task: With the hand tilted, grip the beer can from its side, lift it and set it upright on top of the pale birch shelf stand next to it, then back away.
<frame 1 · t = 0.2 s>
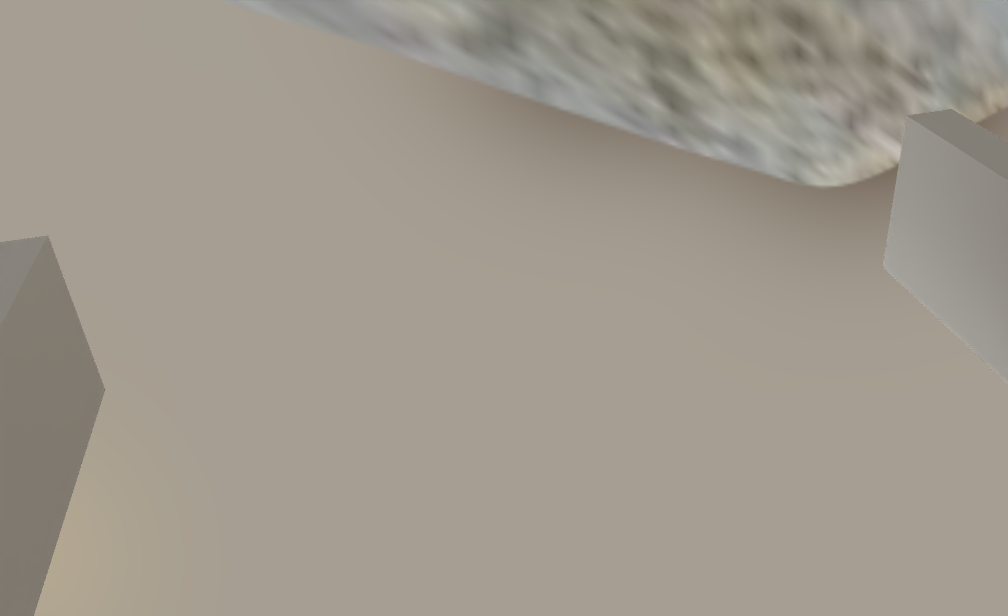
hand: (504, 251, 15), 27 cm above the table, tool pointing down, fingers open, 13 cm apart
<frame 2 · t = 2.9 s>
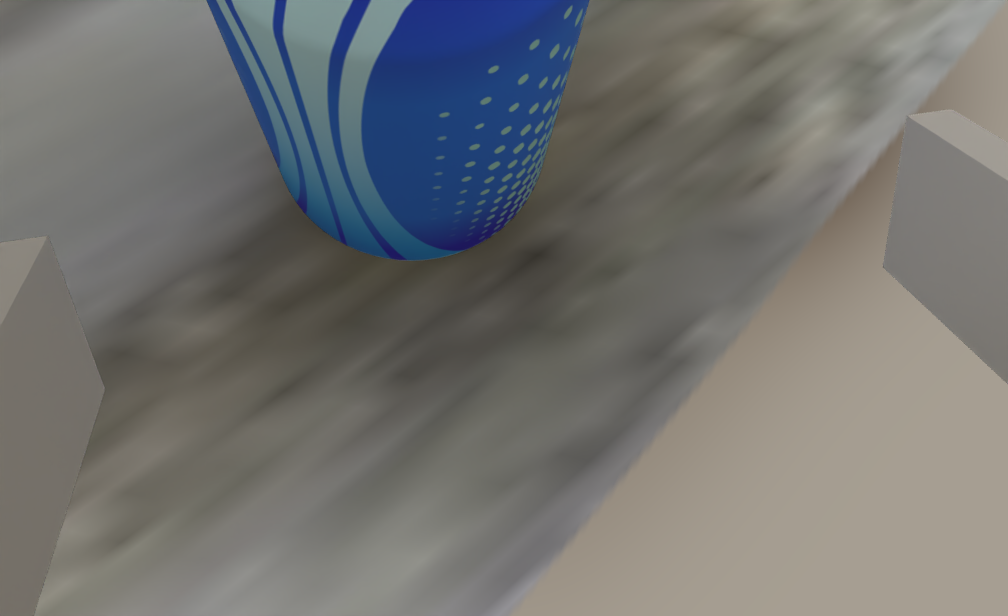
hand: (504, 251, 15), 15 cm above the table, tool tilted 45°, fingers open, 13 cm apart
beer can: (413, 150, 31), on the table
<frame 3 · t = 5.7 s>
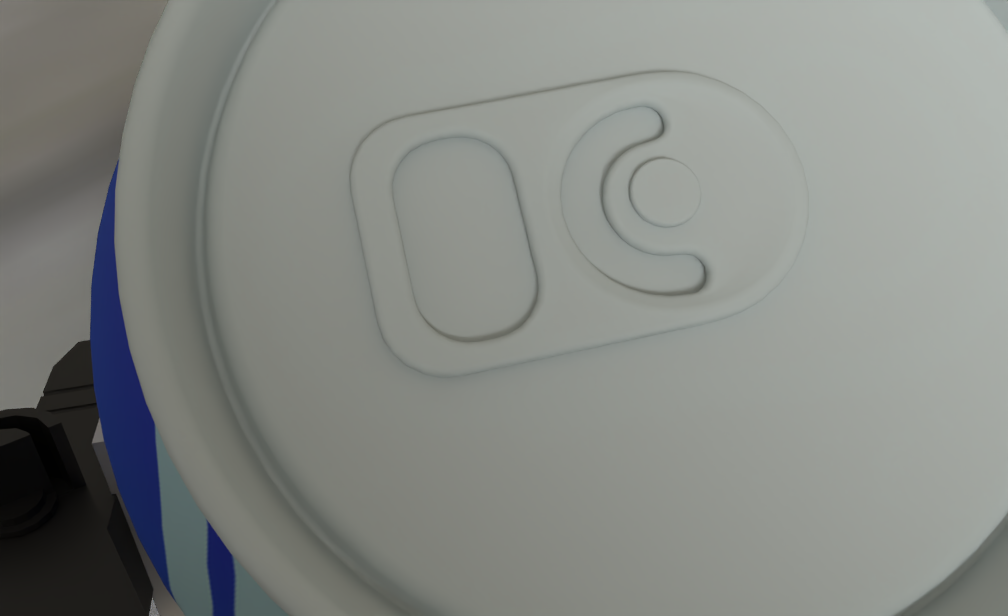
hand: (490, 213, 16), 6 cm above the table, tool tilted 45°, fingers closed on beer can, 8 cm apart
beer can: (500, 445, 21), on the table, touching gripper
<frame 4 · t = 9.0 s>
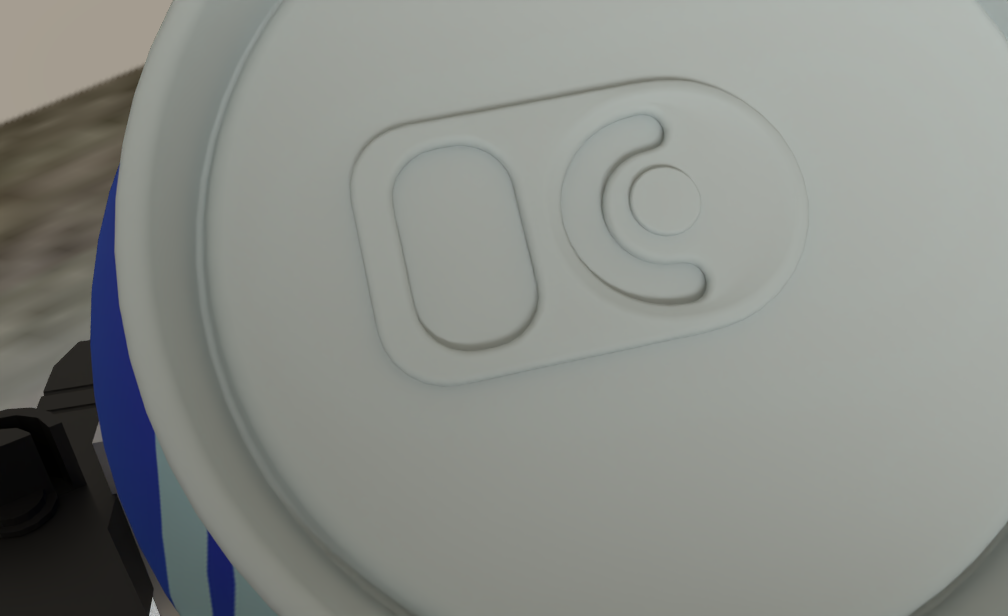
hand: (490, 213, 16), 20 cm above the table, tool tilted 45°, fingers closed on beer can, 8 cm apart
beer can: (500, 448, 21), point 14 cm above the table, touching gripper
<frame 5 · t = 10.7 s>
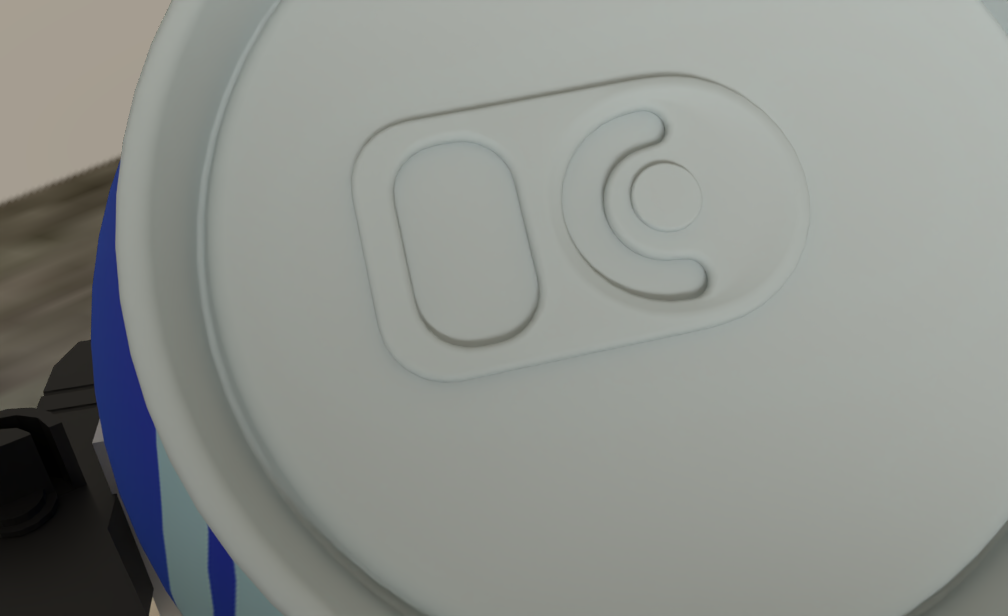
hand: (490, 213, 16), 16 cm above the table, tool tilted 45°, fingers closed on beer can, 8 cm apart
beer can: (500, 447, 21), point 10 cm above the table, touching gripper
when the fingers open (12 cm above the table, at t = 12.2 s): beer can drops 1 cm, resting on shelf stand.
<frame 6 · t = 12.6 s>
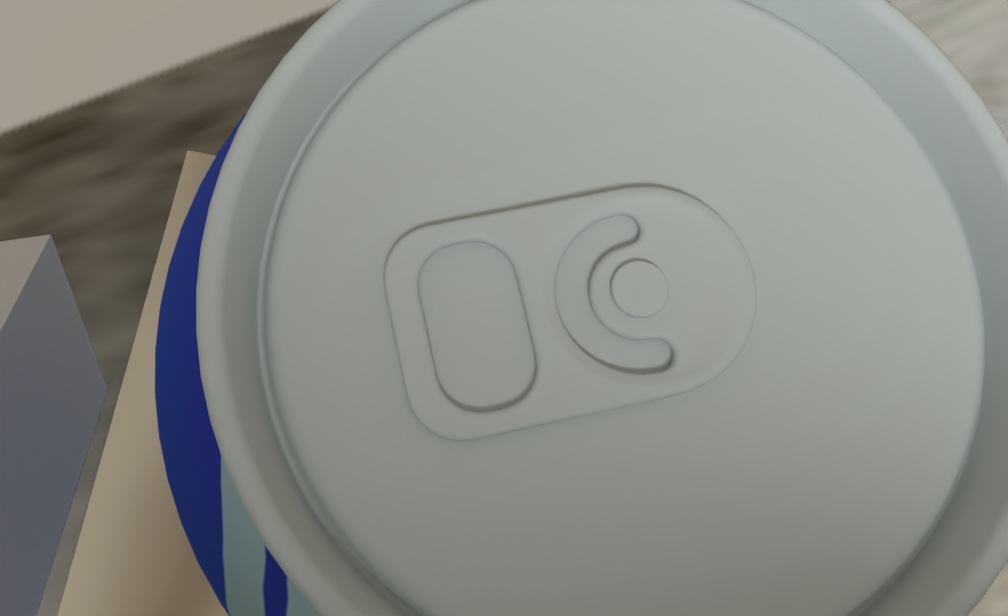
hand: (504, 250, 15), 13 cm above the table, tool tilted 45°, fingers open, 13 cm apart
shelf stand: (481, 499, 26), on the table
beer can: (496, 458, 23), point 4 cm above the table, touching shelf stand
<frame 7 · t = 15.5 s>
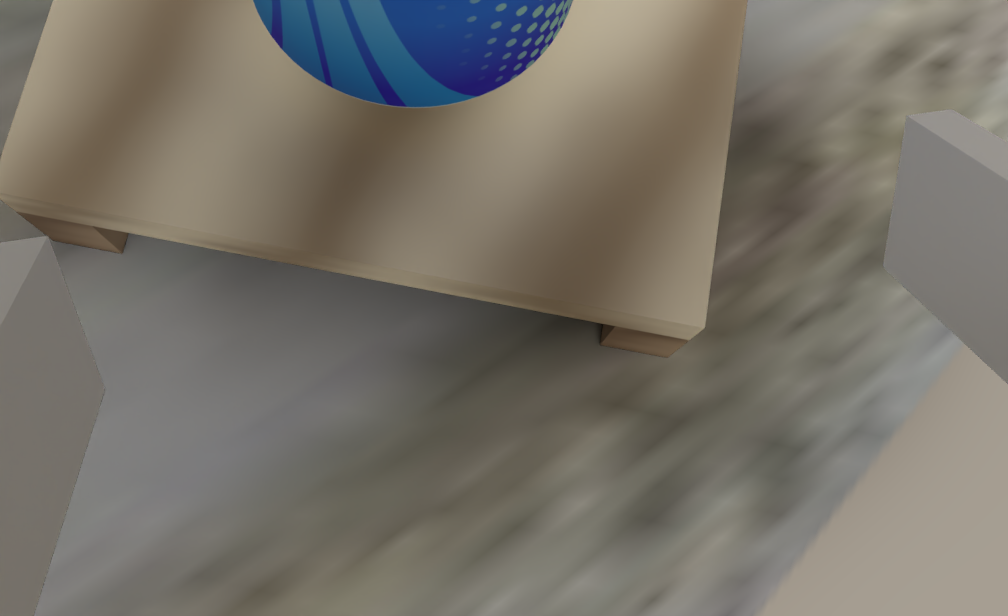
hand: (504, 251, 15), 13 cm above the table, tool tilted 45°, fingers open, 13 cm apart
shelf stand: (411, 82, 29), on the table
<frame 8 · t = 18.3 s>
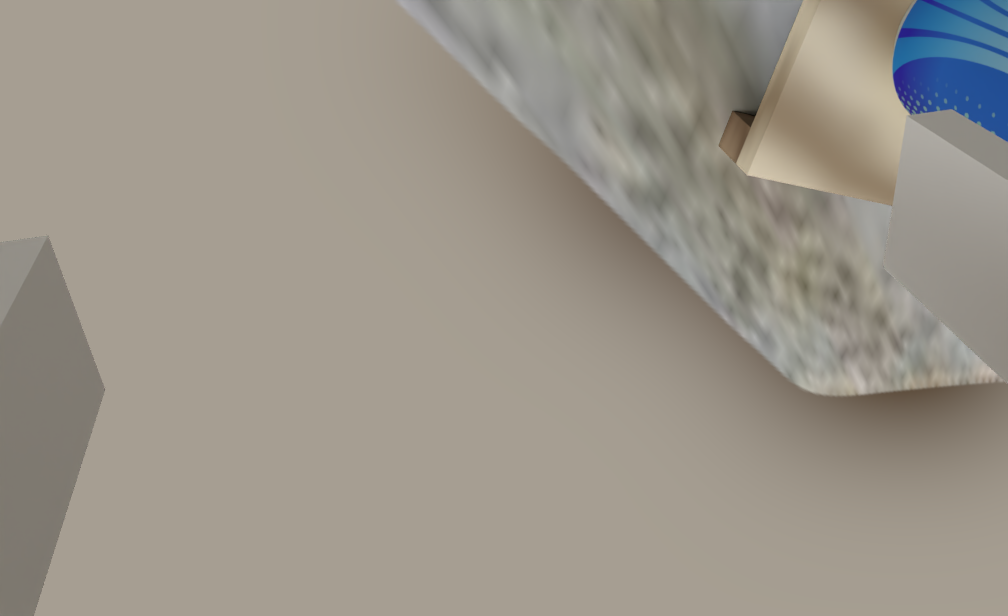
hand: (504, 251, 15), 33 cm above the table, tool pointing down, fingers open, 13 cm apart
shelf stand: (903, 10, 49), on the table
beer can: (957, 35, 46), point 4 cm above the table, touching shelf stand
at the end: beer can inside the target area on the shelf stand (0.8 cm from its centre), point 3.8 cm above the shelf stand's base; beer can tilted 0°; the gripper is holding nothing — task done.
